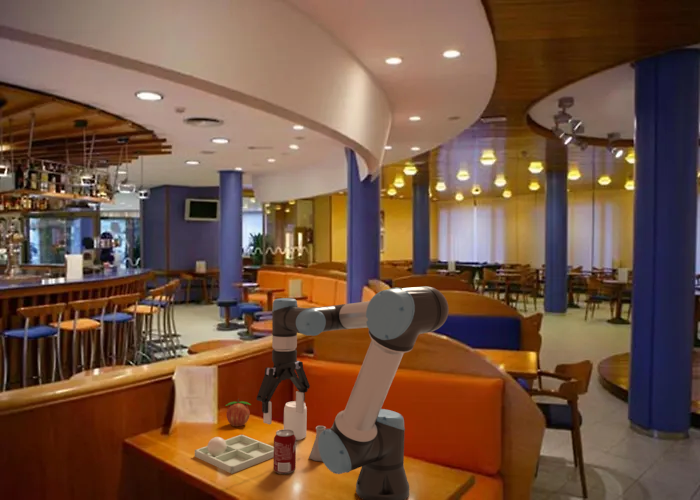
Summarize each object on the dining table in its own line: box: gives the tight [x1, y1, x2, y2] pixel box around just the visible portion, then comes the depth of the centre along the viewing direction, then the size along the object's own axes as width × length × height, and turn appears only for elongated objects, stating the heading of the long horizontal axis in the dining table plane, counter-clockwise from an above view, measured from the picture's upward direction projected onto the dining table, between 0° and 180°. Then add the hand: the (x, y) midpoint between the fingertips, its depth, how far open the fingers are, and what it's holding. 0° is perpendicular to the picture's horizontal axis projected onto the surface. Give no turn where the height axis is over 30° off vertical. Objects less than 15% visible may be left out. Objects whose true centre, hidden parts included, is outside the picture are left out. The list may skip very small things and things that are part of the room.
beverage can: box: [283, 400, 308, 441], centre depth 199 cm, size 8×8×12 cm
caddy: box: [194, 434, 274, 475], centre depth 179 cm, size 19×19×3 cm
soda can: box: [273, 428, 297, 475], centre depth 171 cm, size 7×7×12 cm
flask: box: [308, 425, 327, 462], centre depth 181 cm, size 7×7×10 cm
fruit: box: [225, 398, 252, 427], centre depth 211 cm, size 9×10×10 cm
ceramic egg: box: [206, 436, 226, 457], centre depth 179 cm, size 6×6×6 cm
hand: (284, 417), depth 170 cm, fingers open, 13 cm apart
